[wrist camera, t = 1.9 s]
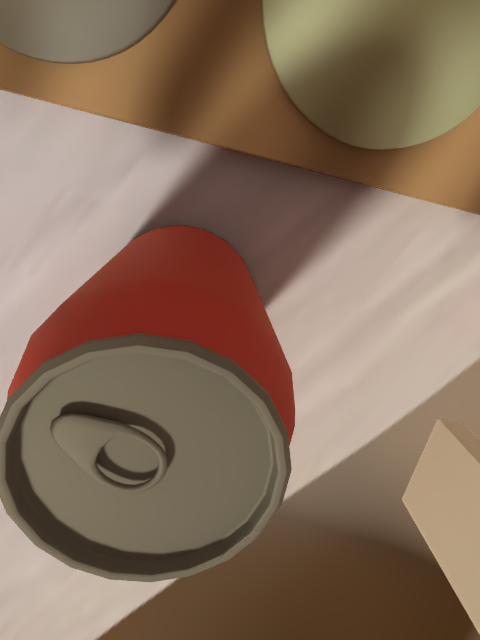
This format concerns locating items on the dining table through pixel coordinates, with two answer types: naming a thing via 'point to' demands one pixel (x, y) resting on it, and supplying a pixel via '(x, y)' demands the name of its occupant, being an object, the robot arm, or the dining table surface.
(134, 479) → the beer can
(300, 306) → the dining table surface
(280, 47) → the seat board
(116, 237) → the dining table surface
